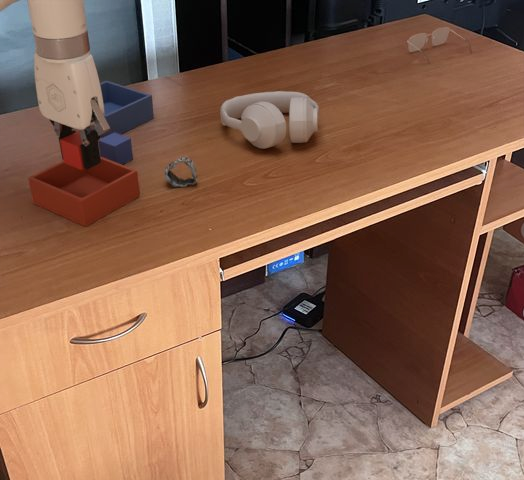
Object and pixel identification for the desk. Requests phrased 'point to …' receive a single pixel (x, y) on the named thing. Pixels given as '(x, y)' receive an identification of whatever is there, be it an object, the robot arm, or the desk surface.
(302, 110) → the headphones
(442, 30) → the eyeglasses
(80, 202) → the red bin
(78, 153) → the red block
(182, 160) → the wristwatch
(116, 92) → the blue bin
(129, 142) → the blue block
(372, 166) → the desk surface
